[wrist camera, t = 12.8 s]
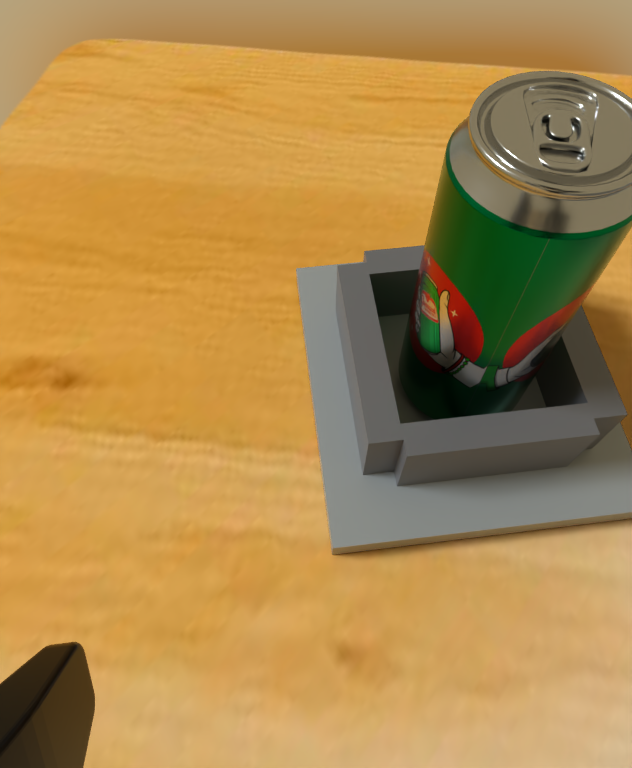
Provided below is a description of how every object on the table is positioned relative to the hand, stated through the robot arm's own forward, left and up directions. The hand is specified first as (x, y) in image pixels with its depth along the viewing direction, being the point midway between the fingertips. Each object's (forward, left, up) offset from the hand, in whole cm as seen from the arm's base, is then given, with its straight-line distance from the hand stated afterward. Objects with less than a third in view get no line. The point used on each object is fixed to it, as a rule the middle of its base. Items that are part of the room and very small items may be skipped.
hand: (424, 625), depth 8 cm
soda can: (+10, -6, -13) cm, 17 cm away
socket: (+11, -6, -14) cm, 18 cm away
